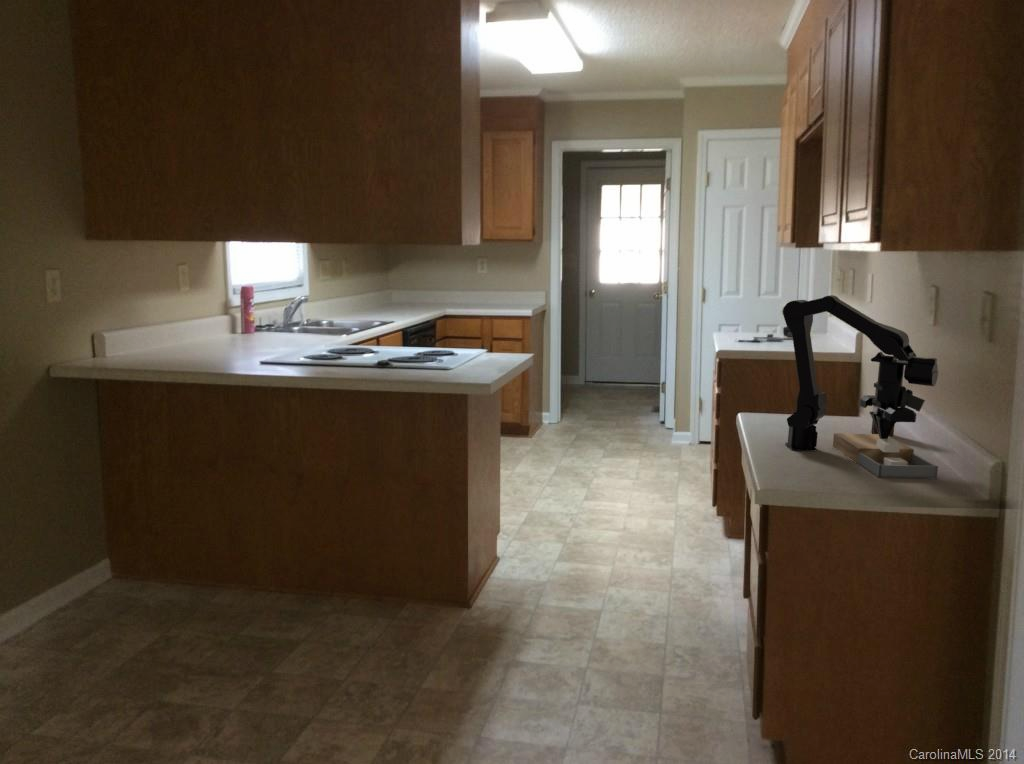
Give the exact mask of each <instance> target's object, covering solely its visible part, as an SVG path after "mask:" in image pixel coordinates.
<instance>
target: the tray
mask: <svg viewBox="0 0 1024 764" xmlns="http://www.w3.org/2000/svg"><path fill="white" fill-rule="evenodd" d="M856 464H857V465H858V464H859V465H858V466H859V467H861V466H862V467H861V468H863V469H864V470H865V471H867V472H869V473H870V474H872V475H873V476H875V477H876V478H879V479H882V478H883V479H884V478H885V479H920V478H937V479H938V469H939V466H938V465H936V464H934V463H932V462H930V461H928V460H927V459H925V458H923V457H922V456H919V455H918V454H915V453H914V454H911V463H907V465H883V463H877V462H876V461H874V460H872V459H871V458H869V457H867V456H866V455H864V454H863V453H861V452H859V453H858V463H856Z"/></svg>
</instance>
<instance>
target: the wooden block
mask: <svg viewBox="0 0 1024 764" xmlns="http://www.w3.org/2000/svg"><path fill="white" fill-rule="evenodd" d="M877 439H880V437H879V434H871V433H846V432H845V433H841V432H840V433H839V432H837V433H835V432H834V433H833V441H832V448H833V447H834V448H836V449H837V450H839V451H840V452H842V453H843V454H844V455H846V456H848V457H849V458H850V459H852V460H853V461H852V460H851V461H852V462H853V463H855V462H856V463H855V464H857V463H858V453H859V452H861V453H863V454H864V455H866V456H867V457H869V458H871V459H872V460H874V461H876V462H877V463H884V457H885V458H901V459H903V460H905V461H907V462H908V463H911V454H915V453H914V452H915V449H914V448H912V447H911V446H908V445H906V444H905V443H903V442H901V441H899V440H897V439H895V438H893V436H892V437H890V436H889V437H888V439H894V440H895V441H896V442H898V443H899V444H900V451H899V452H883V451H881V450H880V449H879V448H878V447H877V446H876V444H877ZM834 448H833V449H834ZM837 450H836V451H837ZM840 452H839V453H840ZM843 454H842V455H843ZM844 455H843V456H844ZM846 456H845V457H846ZM849 458H848V459H849ZM850 459H849V460H850Z"/></svg>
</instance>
